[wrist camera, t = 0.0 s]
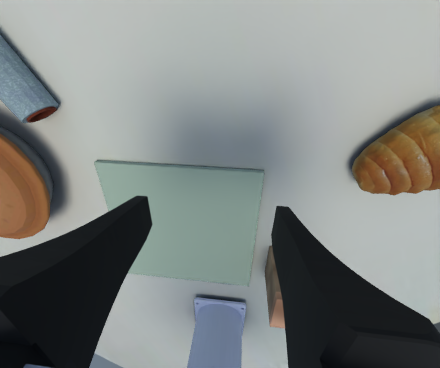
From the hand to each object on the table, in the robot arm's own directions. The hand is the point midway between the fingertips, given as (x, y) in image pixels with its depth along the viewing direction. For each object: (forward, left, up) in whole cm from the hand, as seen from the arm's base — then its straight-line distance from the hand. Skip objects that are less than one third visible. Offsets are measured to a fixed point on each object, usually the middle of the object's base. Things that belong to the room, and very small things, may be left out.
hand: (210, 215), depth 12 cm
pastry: (+2, -13, -11) cm, 18 cm away
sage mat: (-11, +5, -10) cm, 16 cm away
